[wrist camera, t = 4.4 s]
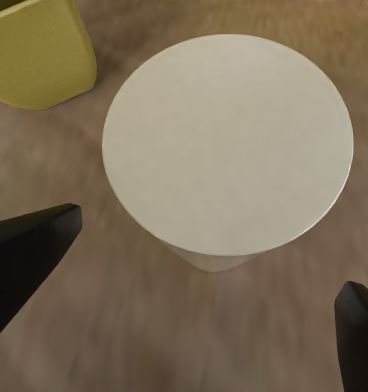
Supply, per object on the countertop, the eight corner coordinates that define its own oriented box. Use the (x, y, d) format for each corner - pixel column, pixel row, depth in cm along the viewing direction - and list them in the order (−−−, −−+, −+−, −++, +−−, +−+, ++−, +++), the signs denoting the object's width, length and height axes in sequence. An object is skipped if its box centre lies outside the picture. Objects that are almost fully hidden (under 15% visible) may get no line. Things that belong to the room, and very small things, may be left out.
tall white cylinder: (269, 259, 18) (404, 214, 6) (182, 282, 18) (123, 287, 6) (242, 178, 20) (296, 9, 7) (163, 199, 20) (86, 66, 7)
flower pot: (5, 64, 25) (-100, -47, 17) (90, 27, 26) (30, -99, 17) (27, 138, 22) (-85, 51, 14) (122, 96, 23) (70, -14, 14)
